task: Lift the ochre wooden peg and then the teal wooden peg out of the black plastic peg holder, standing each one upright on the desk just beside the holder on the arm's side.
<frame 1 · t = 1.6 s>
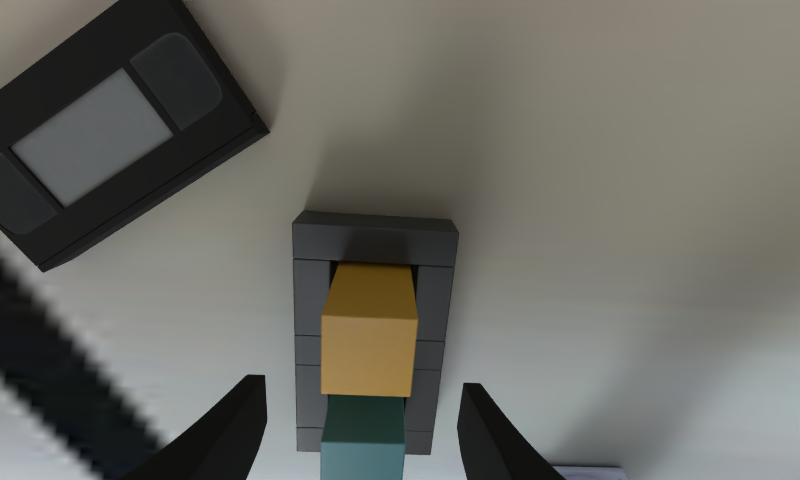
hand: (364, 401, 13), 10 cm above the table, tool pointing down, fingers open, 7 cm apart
holder: (371, 329, 24), on the table
ochre peg: (374, 282, 23), resting in holder
teal peg: (369, 372, 25), resting in holder
vhs tape: (121, 139, 20), on the table
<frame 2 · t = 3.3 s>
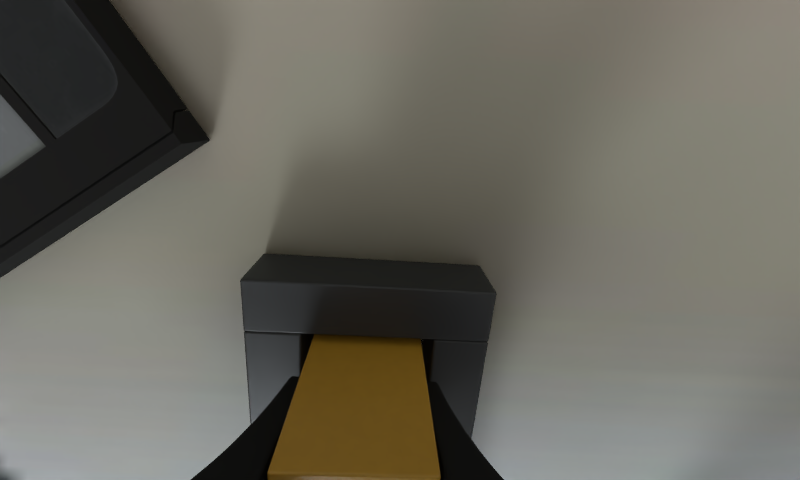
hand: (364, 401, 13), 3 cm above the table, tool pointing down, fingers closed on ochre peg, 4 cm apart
holder: (365, 411, 17), on the table
ochre peg: (367, 351, 16), resting in holder, touching gripper
when the fingers open (3 cm above the table, at t = 7.4 s): ochre peg stays where it is, on the table.
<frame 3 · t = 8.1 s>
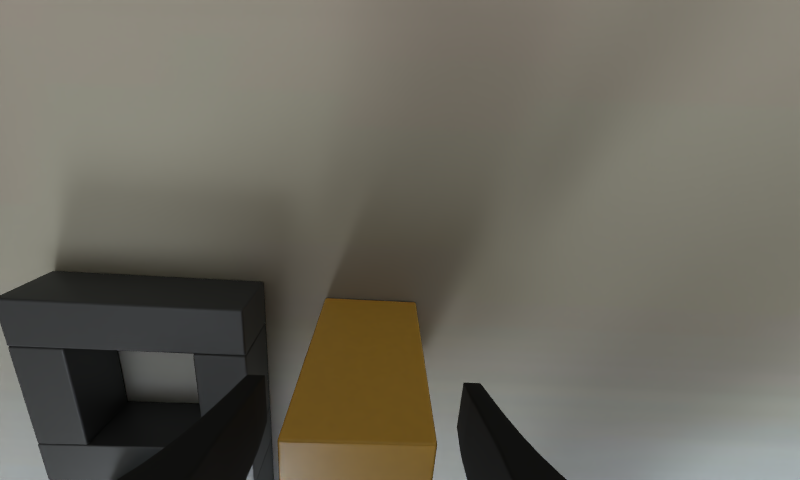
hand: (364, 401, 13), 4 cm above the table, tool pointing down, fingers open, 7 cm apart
holder: (181, 419, 18), on the table
ochre peg: (368, 338, 17), on the table
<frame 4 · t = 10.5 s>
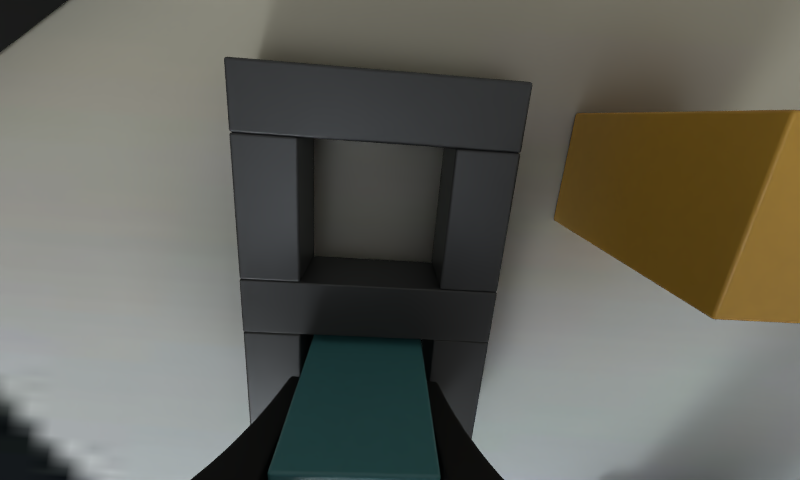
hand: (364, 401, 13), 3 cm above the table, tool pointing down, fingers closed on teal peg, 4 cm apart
holder: (372, 281, 15), on the table
ochre peg: (614, 172, 14), on the table
teal peg: (367, 351, 16), resting in holder, touching gripper
when the fingers open (3 cm above the table, at t = 14.8 s): teal peg stays where it is, on the table.
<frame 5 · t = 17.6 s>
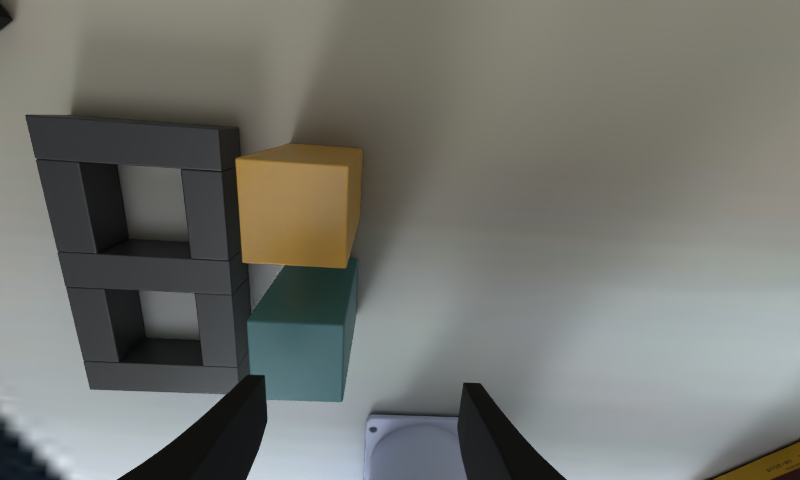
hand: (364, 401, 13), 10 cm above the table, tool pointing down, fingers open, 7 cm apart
holder: (173, 257, 22), on the table
ochre peg: (325, 182, 21), on the table
teal peg: (324, 286, 23), on the table
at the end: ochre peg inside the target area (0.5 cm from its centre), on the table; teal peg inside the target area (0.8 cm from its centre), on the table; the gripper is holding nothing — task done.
